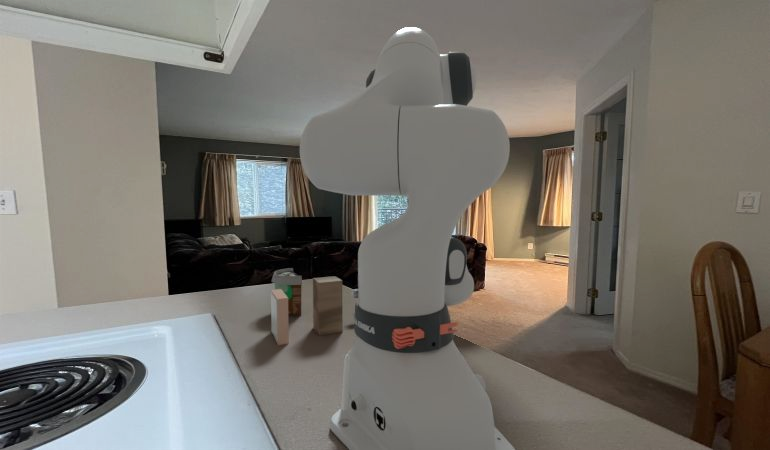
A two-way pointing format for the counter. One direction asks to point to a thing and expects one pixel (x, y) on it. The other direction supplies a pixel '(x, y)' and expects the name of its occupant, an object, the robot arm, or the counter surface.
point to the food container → (289, 289)
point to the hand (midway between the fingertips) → (359, 298)
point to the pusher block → (327, 305)
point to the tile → (279, 316)
